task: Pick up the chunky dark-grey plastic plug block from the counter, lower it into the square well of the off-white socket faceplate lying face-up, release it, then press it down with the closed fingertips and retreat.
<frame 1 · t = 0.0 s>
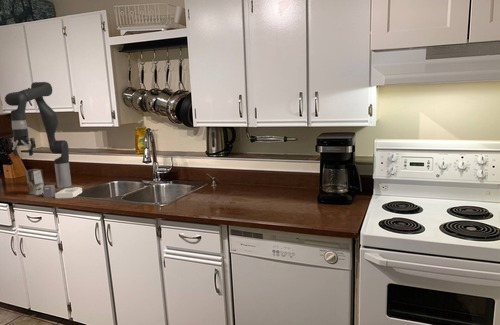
hand: (23, 155, 218), 29 cm above the worktop, fingers open, 8 cm apart
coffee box: (37, 193, 250), on the worktop
plug: (49, 196, 241), on the worktop
socket plate: (69, 195, 243), on the worktop
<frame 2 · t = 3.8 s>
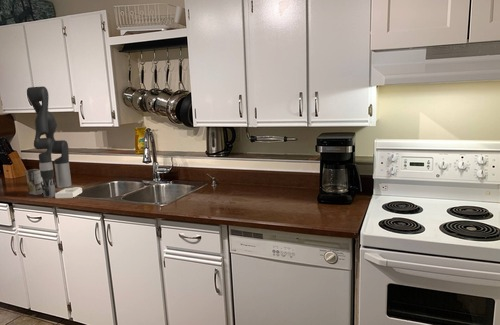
hand: (49, 194, 241), 1 cm above the worktop, fingers closed on plug, 5 cm apart
plug: (49, 196, 241), on the worktop, touching gripper
everything else where it was.
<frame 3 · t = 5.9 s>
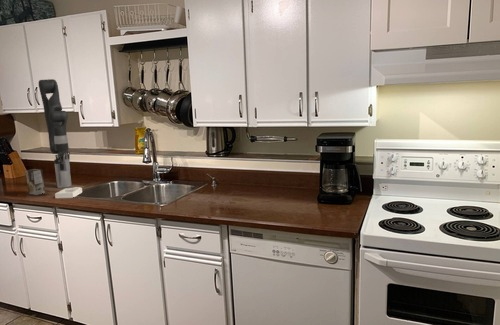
hand: (64, 169, 238), 18 cm above the worktop, fingers closed on plug, 5 cm apart
plug: (64, 170, 238), point 17 cm above the worktop, touching gripper
everything else where it was.
when the fingers open (3 cm above the worktop, at t = 8.2 s): plug drops 1 cm, resting on socket plate.
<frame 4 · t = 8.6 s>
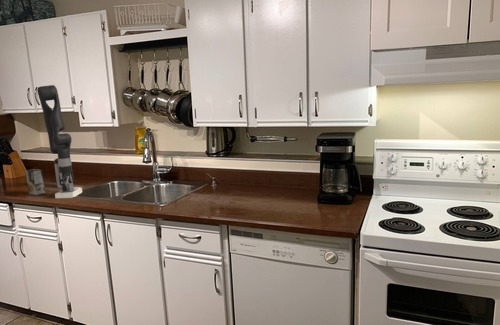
hand: (67, 189, 241), 4 cm above the worktop, fingers open, 8 cm apart
plug: (68, 194, 241), point 1 cm above the worktop, touching socket plate
everything else where it was.
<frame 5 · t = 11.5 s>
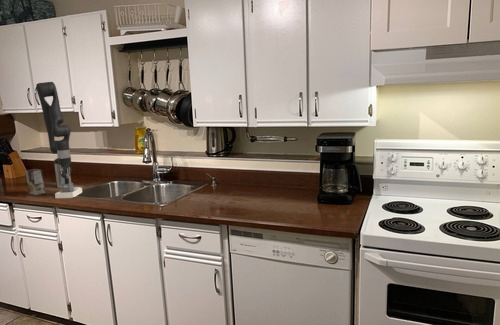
hand: (67, 183, 240), 8 cm above the worktop, fingers closed
nothing on the worktop moved.
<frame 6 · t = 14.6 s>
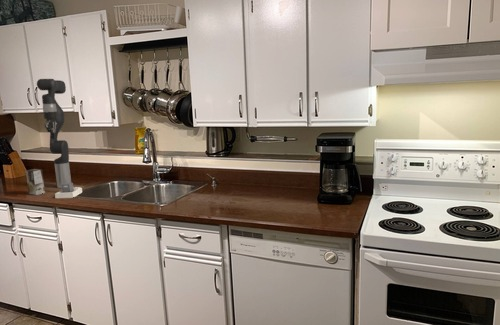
hand: (53, 138, 238), 37 cm above the worktop, fingers closed
nothing on the worktop moved.
at the end: plug 0.1 cm from the target spot on the socket plate, point 0.9 cm above the socket plate's base; plug tilted 0°; the gripper is holding nothing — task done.
